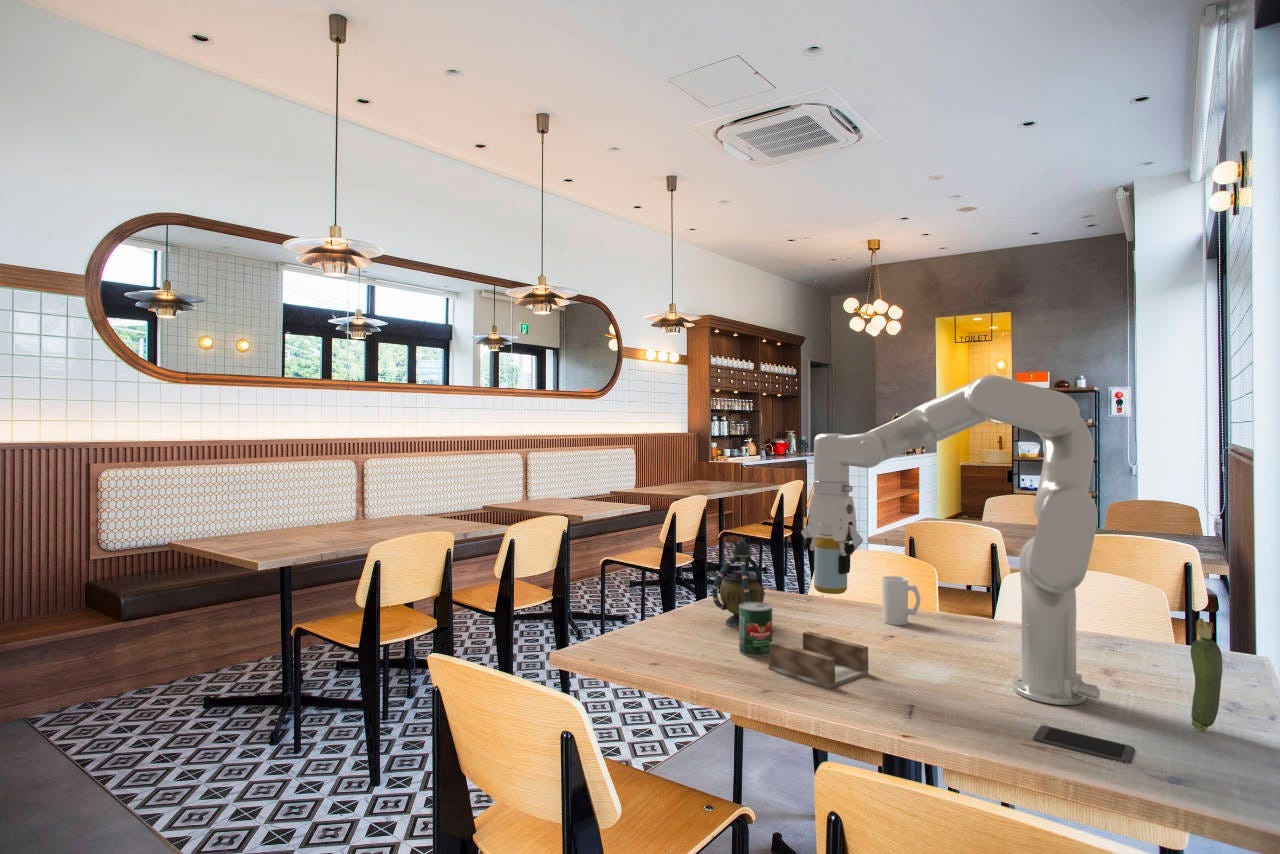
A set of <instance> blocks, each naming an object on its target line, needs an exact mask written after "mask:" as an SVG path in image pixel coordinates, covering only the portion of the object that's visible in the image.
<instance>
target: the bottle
mask: <svg viewBox="0 0 1280 854" xmlns="http://www.w3.org/2000/svg"><path fill="white" fill-rule="evenodd" d="M817 533H818V534H817V539H816V541H815V560H814V574H813V579H814V580H813V581H814V582H813V584H814V585H813V587H814V588H815V590H816V591H817V592H819V593H822V594H827V595H828V594H829V595H840V594H843V593H845V592H846V591H847V590H848V589H847V588H848V573H846V574H839V556H840V555H841V553H840V550H839V543H838V542H835V541H834V540H833V539H834V538H833V536H832V535H833V532H832V526H831V525H828V524H821V523H818V524H817ZM844 546H845V548H846V544H844Z"/></svg>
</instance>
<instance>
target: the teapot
mask: <svg viewBox="0 0 1280 854" xmlns="http://www.w3.org/2000/svg"><path fill="white" fill-rule="evenodd" d="M730 542H731V543H733V544H734V548H733V550H732V552H731V553H732V557H730V558H729V559H728V560H727V561H726V562H725V564H724V565H723V566H722V568H721V569H720V570H719V572H718V573H717V576H716V577H715V580H714V583H713V586H712V589H711V592H712V593H711V595H712V599H713V603H714V605H715V606H716V607H717V608H719V609H721V610H722V611H726V610H727V611H728V612H729V613H730V614H733V615H731V616H729V617H728V619H726V620H725V621H724V622H725V625H726V626H727V627H730V628H734V629H739V605H740V604H742V603H745V602H762V603H764V599H765V596H766V592H765V588H764V584H763V577H762V572H761V571H760V570H761V569H760V567H759V565H758V564H757V563H756V561H755V560H753V559H752V558H751V557H752V551H751V548H750V546H749V544H748V543H747V542H746V541H745V539H743V538H741V539H740V540H738V541H737V542H736V541H735V540H731V541H730ZM735 563H740V570H736V571H734V573H729V568H730V567H731V566H732V565H733V564H735ZM746 563H750V564H751V565H752V567H753V569H754V571H755V574H751V573H750V572H749V571H748V570H747V564H746ZM721 580H722V581H721ZM719 585H720V586H719ZM718 589H719V595H720V600H721V601H720V600H719V595H718Z"/></svg>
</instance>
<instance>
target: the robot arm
mask: <svg viewBox="0 0 1280 854" xmlns="http://www.w3.org/2000/svg"><path fill="white" fill-rule="evenodd" d="M1080 413H1081V411H1080V407H1079V405H1078V403H1077V402H1076V401H1075V400H1074V398H1072V397H1071V396H1070V395H1068V394H1066V393H1064V392H1061V391H1056V390H1054V389H1050V388H1045V387H1041V386H1037V385H1034V384H1030V383H1026V382H1022V381H1018V380H1015V379H1011V378H1008V377H1004V376H1001V375H996V374H991V375H990V374H988V375H984V376H981V377H979V378H978V379H976V380H973V381H971V382H969V383H967V384H964V385H961V386H960V387H958V388H955V389H954V390H951V391H949V392H946V393H945V394H942V395H940V396H938V397H935V398H933V399H931V400H928V401H926V402H924V403H922V404H920V405H918V406H916V407H914V408H913V409H911V410H910V411H909V412H907V413H905V414H903V415H902V416H900V417H898V418H895V419H893V420H891V421H889V422H886V423H885V424H883V425H880V426H877V427H876V428H873V429H870V430H868V431H866V432H862V433H856V434H855V433H854V434H843V433H832V432H831V433H818V434H817V435H815V437H814V440H813V494H812V495H811V498H810V501H809V507H808V508H809V509H808V517H807V519H808V523H807V525H806V526H805V527H804V528H803V529H802V530H801V532H800V534H801V535H802V537H803V538H804V539H805V541H806V543H807V545H808V546H809V550H810V551H811V554H812V558H811V559H812V569H814V560H815V541H816V539H817V534H818V533H817V524H818V523H821V524H828V525H831V526H832V532H833V535H832V536H833V538H834V539H833V540H834V541H835V542H838V543H839V550H840V553H841V555H840V556H839V574H846V573H847V574H849V573H850V570H851V555H853V553H854V552H855V551H856V550H857V549H858V547H860V545H861V544H863V543H864V539H863V538H862V536H861V535H860V533H859V532H858V531H857V528H858V527H857V517H856V507H855V502H854V498H853V496H851V495H850V493H851V492H853V491H854V486H853V485H851V484H850V466H851V467H858V468H865V469H871V468H874V467H876V466H878V465H879V464H881V463H882V462H884V461H887V460H890V459H892V458H895V457H897V456H898V455H901V454H904V453H906V452H908V451H911V450H913V449H917V448H919V447H922V446H927V445H932V444H935V443H937V442H940V441H943V440H945V439H948V438H950V437H953V436H955V435H956V434H959V433H962V432H963V431H966V430H968V429H971V428H973V427H975V426H978V425H980V424H982V423H985V422H988V421H990V420H994V421H997V422H1000V423H1003V424H1007V425H1010V426H1013V427H1017V428H1020V429H1024V430H1028V431H1032V433H1035V434H1036V435H1038V436H1039V438H1040V440H1041V441H1042V444H1043V450H1044V451H1043V452H1044V453H1043V459H1042V460H1043V461H1042V467H1041V472H1040V477H1039V480H1038V481H1039V482H1038V486H1037V491H1036V495H1035V499H1034V501H1033V513H1034V515H1035V518H1036V519H1037V523H1036V524H1037V525H1036V530H1035V533H1034V536H1033V537H1031V538H1030V539H1028V540H1027V541H1026V542H1025V543H1024V545H1023V546H1022V548H1021V551H1020V554H1019V573H1020V585H1021V586H1020V588H1021V589H1020V590H1021V678H1017V679H1015V680H1014V681H1013V683H1012V684H1013V686H1012V687H1013V690H1014V691H1015V692H1016V693H1017V694H1019V695H1020V696H1022V697H1024V698H1027V699H1030V700H1032V701H1036V702H1040V703H1045V704H1050V705H1057V706H1058V705H1059V706H1073V705H1074V706H1075V705H1080V704H1083V703H1084V702H1085V701H1086V699H1087V697H1088V698H1091V699H1096V700H1099V699H1100V697H1101V689H1100V688H1098V685H1095V684H1091V683H1086V682H1084V680H1082V678H1083V676H1082V674H1081V673H1077V597H1076V594H1077V593H1076V588H1078V587H1079V586H1080V585H1081V584H1082V582H1083V581H1084V579H1085V578H1086V574H1087V571H1088V567H1089V564H1090V560H1091V555H1092V550H1093V544H1094V541H1095V535H1096V530H1097V526H1098V508H1097V505H1096V503H1095V501H1094V499H1093V497H1092V496H1091V495H1090V494H1089V491H1090V484H1091V480H1092V479H1091V478H1092V472H1093V467H1094V458H1095V445H1094V441H1093V436H1092V434H1091V431H1090V429H1089V428H1088V427H1089V426H1087V423H1086V422H1085V421H1084V419H1083V418H1082V416H1081V414H1080ZM844 544H846V548H845V546H844Z"/></svg>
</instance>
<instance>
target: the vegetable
mask: <svg viewBox="0 0 1280 854" xmlns="http://www.w3.org/2000/svg"><path fill="white" fill-rule="evenodd" d="M1197 634H1198V637H1199V638H1198V639H1196V640H1195V641H1193V642H1192V643H1191V647H1190V659H1191V663H1192V667H1193V673H1194V690H1193V696H1192V706H1191V725H1192V726H1193V727H1194V729H1195V730H1199V731H1202V732H1205V731H1206V730H1207V729H1208V728H1209V727H1210V726H1212V725H1213V724H1214V723H1215V721H1216V719H1217V715H1218V711H1219V707H1220V695H1221V688H1222V687H1221V686H1222V677H1223V655H1222V651H1221V648H1220V646H1219V645H1218V644H1217V643H1216V642H1215V641H1214V640H1212V637H1213V635H1212V631H1211V628H1210V627H1209V626H1208V624H1207V623H1206V621H1205V620H1204V618H1198V620H1197Z"/></svg>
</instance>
